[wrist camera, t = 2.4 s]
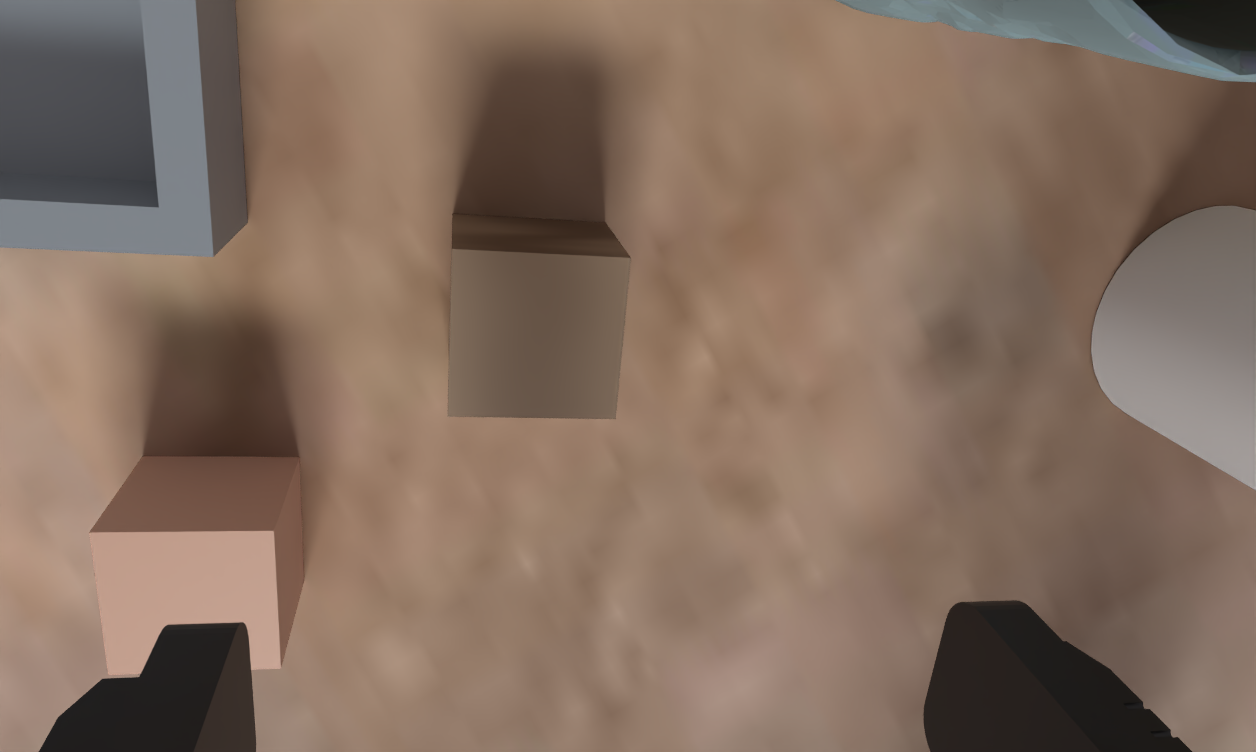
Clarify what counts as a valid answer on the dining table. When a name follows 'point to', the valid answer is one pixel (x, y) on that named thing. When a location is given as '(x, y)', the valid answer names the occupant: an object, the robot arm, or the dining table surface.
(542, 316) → the walnut block
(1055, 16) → the blue-grey cup
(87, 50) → the tray
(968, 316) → the dining table surface
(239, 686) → the robot arm
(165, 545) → the terracotta block
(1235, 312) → the cylindrical container
